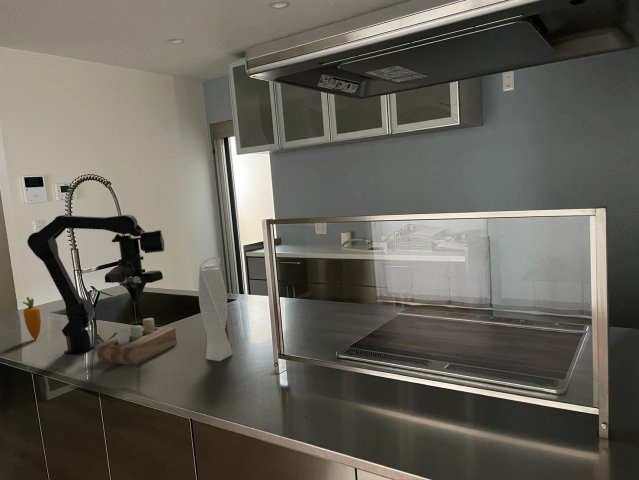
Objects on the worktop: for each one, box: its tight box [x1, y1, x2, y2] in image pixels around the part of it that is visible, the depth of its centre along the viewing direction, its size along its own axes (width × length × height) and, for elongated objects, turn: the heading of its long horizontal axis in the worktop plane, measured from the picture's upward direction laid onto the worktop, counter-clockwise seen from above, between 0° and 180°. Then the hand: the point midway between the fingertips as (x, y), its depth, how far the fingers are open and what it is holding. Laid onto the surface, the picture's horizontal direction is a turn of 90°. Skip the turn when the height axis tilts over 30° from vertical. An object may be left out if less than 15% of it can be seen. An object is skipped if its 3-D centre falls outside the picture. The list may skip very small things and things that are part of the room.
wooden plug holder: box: [95, 326, 178, 366], centre depth 152 cm, size 14×18×5 cm
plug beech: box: [142, 317, 156, 333], centre depth 157 cm, size 3×3×6 cm
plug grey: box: [116, 328, 130, 345], centre depth 146 cm, size 3×3×6 cm
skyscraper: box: [198, 256, 234, 362], centre depth 141 cm, size 8×8×28 cm
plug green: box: [129, 325, 143, 339], centre depth 152 cm, size 3×3×6 cm
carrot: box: [22, 296, 42, 340], centre depth 175 cm, size 5×5×15 cm
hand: (136, 303), depth 160 cm, fingers closed
